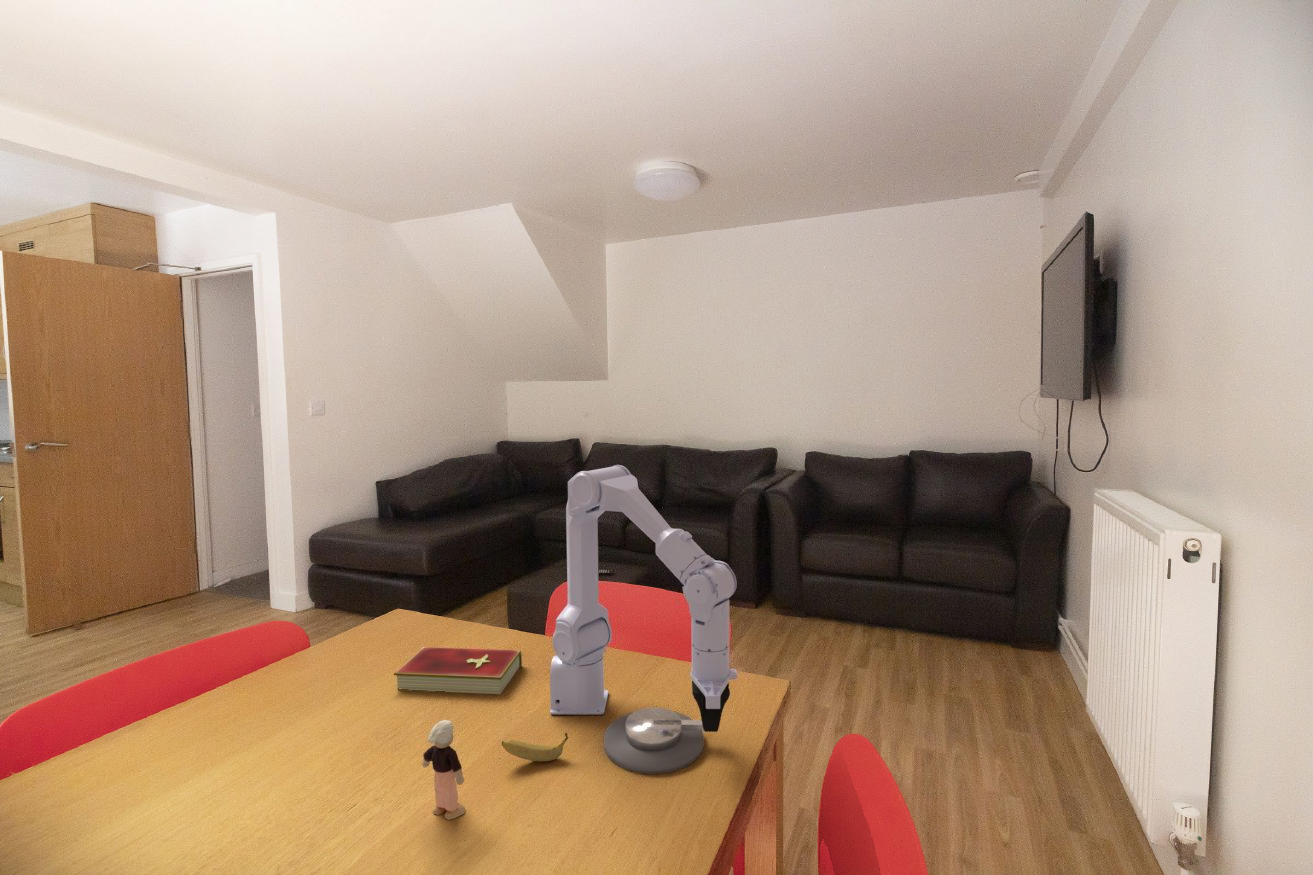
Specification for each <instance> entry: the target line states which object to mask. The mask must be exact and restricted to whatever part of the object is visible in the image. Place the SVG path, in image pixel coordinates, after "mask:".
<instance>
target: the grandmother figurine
mask: <svg viewBox="0 0 1313 875" xmlns="http://www.w3.org/2000/svg"><path fill="white" fill-rule="evenodd" d="M453 741H454V725H453V723H452V721H450V720H448V719H443V720H440V721H439V722H437V723H435V725H433V727H432V729H431V730H430V732H429V735H428V738H427V742H428V743H430V744H434V745H432V746H430V747H429V748H428V749H427V750H426V751H425V752H424V753H423V755H422V757H423V759H422V763H421V766H422V768H428V767H429V766H430V763H431V762H432V763H431V764H432V769H433V771H434V777H433V778H434V785H433V786H434V796H435V799H434V800H435V805H434V806H435V807H434V808H433V809H432V813H433V814H434V815H436V816H437V815H438V816H439V815H442V814H443V813H445V814H444V818H445V819H446V820H451V821H452V820H453V819H456V818H458V817H460V816H462V815H463V814H465V812H466V807H465V805H463V804H462V803H459V802H458V799H459V794H458V789H457V785H459V786H460V785H463V784H464V782H465V778H464V776H463V774H464V773H463V769H462V768H463V767H462V764H461V762H460V759H459V757H458V754H457V750H455V749H454V748H452V747H451V744H452V743H453Z"/></svg>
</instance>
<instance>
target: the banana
mask: <svg viewBox="0 0 1313 875" xmlns="http://www.w3.org/2000/svg"><path fill="white" fill-rule="evenodd" d="M564 736H565V738H564V739H563V740H562V741H561V743H558V744H554V745H544V744H534V743H528V742H524V741H520V740H517V739H509V740H508V739H507V740H502V742H501V746H502V748H503V749H504V751H506V752H507V753H508V754H509V755H512V756H513V757H514V756H515V757H516V758H520V759H523V760H527V761H532V762H540V763H541V762H544V763H545V762H551V761H554V760H557V759H558V758H560V756H561V755H562V754H563V751H564V750H563V748H564V745H565V744H566V742H567V741H568V739H569V736H568V732H565V733H564Z"/></svg>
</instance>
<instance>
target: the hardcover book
mask: <svg viewBox="0 0 1313 875" xmlns="http://www.w3.org/2000/svg"><path fill="white" fill-rule="evenodd" d="M522 656H523V655H522V650H519V649H518V650H515V649H489V648H488V649H486V648H485V649H484V648H462V647H461V648H460V647H459V648H457V647H425V646H422V647H421V648H420V649H418V651H417V652H416V653H414V654H413V655H412V656H411V657H410V658H409V659H408V660H407V661H406V662H404V663H403V664H402V665H401V666H400V667H399V668H398V669H397V670H395V671H394V672H393V676H396V683H397V684H396V685H397V689H398V688H401V689H409V690H408V691H412V690H427V691H426V692H435V691H445V692H444V693H460V694H461V693H462V694H484V695H501V694H502V693H503V691H504V690H505V688H506V687H507V685H508V684H509V683H510V681H511V680H512V678H513V677H514V676H515V674H516V672H518V670H519V669H520V668H522V667H523V666H522V665H523V660H522V659H523V657H522Z"/></svg>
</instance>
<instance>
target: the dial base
mask: <svg viewBox="0 0 1313 875" xmlns="http://www.w3.org/2000/svg"><path fill="white" fill-rule="evenodd" d="M674 712H675V713H676V714H677V715H678V716H679V717H680V718H681V720H693V719H692V718H691V717H689V716H688V715H685V714H682V713H680V712H677V711H674ZM632 713H633V712H630V713H627V714H625V715H622V716H620V717H619V718H617V719H616V720H614V721H613V722H611V723H610V724H609V725H608V726H607V728H606V730H605V732H604V735H603V748H604V749H603V750H604V752H605V755H606V756H607V758H608V759H609V760H610V761H611V762H612V763H613V764H615V765H616V766H618V767H620V768H622V769H624V770H626V771H629V772H634V773H637V774H645V775H659V774H661V775H662V774H668V773H673V772H676V771H680V770H682V769H685V768H686V767H688V766H690V765H691V764H693V763H694V762H695V761H696V760H697V759H698V758H699V757H700V755H701V754H702V752H703V749H704V734H703V733H704V731H682V735H681V739H680V740H679V741H678V742H677V743H676V744H675V745H673V746H672V747H669V748H666V749H663V750H653V751H652V750H643V749H639V748H637V747H635V746H633V745H631V744H630V743H629V742H628V741H627V739H626V725H625V723H626V719H627V718H628V716H629V715H630V714H632Z"/></svg>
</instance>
